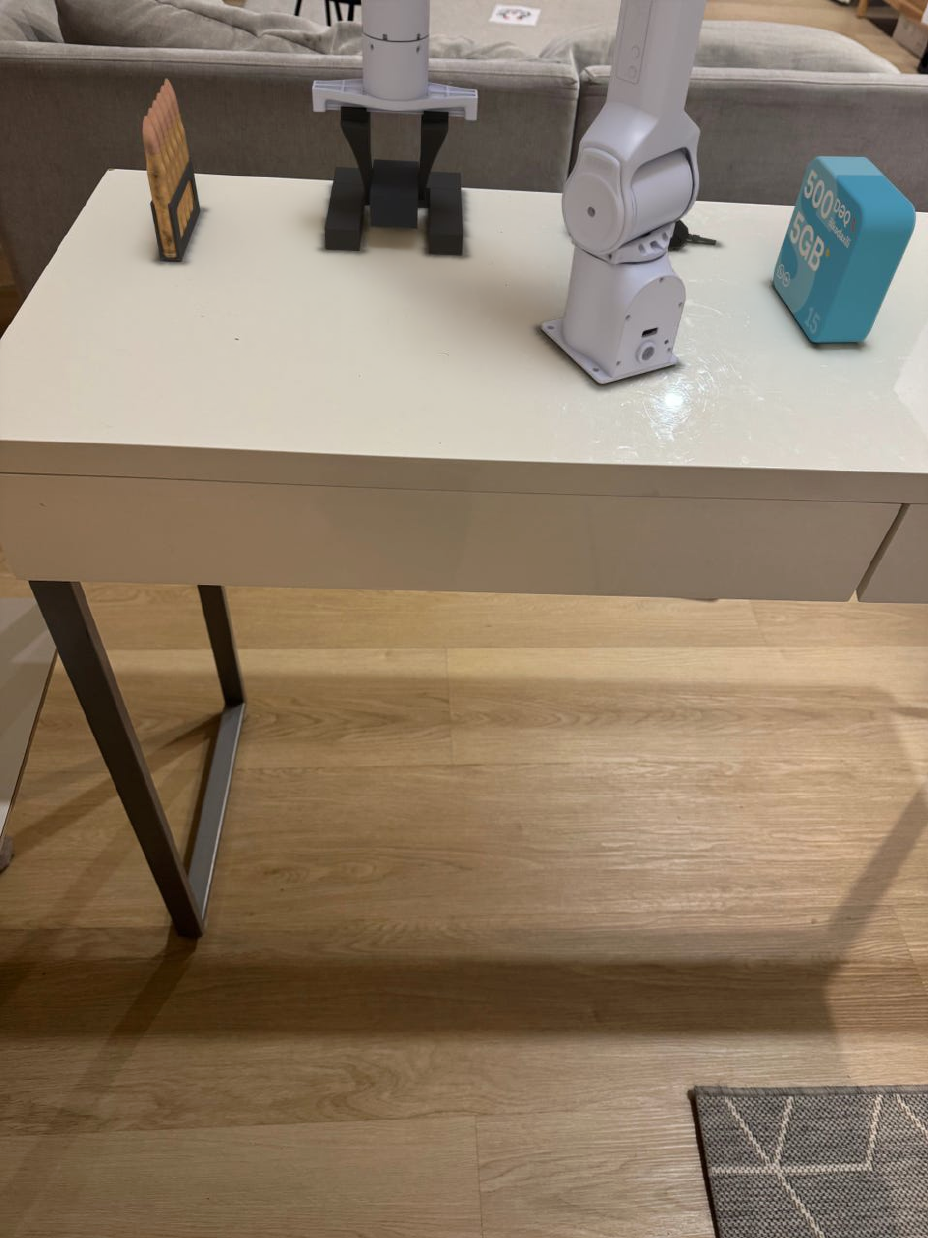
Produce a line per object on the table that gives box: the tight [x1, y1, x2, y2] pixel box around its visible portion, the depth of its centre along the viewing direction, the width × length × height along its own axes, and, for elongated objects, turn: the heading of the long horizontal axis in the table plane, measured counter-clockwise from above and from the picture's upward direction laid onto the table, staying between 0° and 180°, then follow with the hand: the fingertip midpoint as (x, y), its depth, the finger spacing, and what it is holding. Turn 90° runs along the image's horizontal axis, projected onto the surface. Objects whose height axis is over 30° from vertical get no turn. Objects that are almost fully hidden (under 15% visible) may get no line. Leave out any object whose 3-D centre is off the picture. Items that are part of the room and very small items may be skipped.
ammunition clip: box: [142, 78, 201, 262], centre depth 82 cm, size 11×2×12 cm, turn 1°
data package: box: [773, 155, 917, 343], centre depth 78 cm, size 12×4×12 cm, turn 6°
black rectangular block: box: [369, 158, 420, 230], centre depth 87 cm, size 8×4×3 cm, turn 1°
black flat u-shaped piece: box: [324, 166, 464, 256], centre depth 90 cm, size 14×13×2 cm
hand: (395, 194), depth 87 cm, fingers closed on black rectangular block, 4 cm apart
